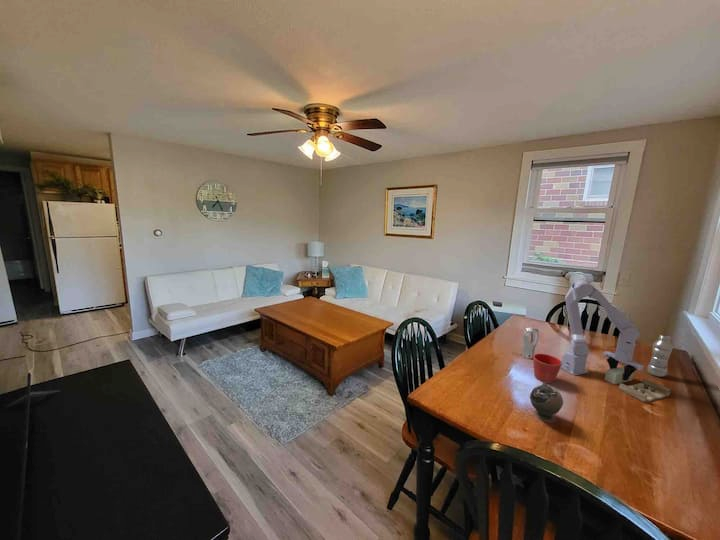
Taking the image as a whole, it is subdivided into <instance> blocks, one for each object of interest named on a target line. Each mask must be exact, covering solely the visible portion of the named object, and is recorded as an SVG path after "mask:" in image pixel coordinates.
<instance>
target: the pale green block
mask: <svg viewBox="0 0 720 540" xmlns="http://www.w3.org/2000/svg"><path fill="white" fill-rule="evenodd" d="M634 374H635V371H634V372H633V373H632V374H631V375H630V377H629V379H628V380H626V381H624V380H623V376H624V366H620V367H619V366H617V368H613V369H610V368H609V369H606V371H605V374H604V375H605V376H604V380H605V381H607V382H608V383H610V384H612V385H618V384H620V383H622V382H623V383H627V382H630V381H633V379H634ZM623 383H622V384H623Z"/></svg>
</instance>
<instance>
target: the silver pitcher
mask: <svg viewBox="0 0 720 540" xmlns="http://www.w3.org/2000/svg"><path fill="white" fill-rule="evenodd" d="M539 334H540V330H539V329H537V328H535V327H530V326H528V327H524V329H523V335H522V351H521V356H522V357H523V358H524V359H525V358H526V359H528V360H529V359H530V360H533V356H534V355H535V351H536V347H537V345H538V342H539V336H540V335H539Z"/></svg>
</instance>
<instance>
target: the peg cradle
mask: <svg viewBox="0 0 720 540" xmlns="http://www.w3.org/2000/svg"><path fill="white" fill-rule="evenodd" d="M618 390H619V391H620V392H622V393H624V394H627V395H628V396H629V397H633V398H635V399H636V400H639V401H640V402H642V403H645V404H646V403H648V402H651V401H655V400H660V399H663V398H667V397H670V394H671V388H668V387H665V386H663V385H661V384H659V383H656V382H655V381H652V380H649V379H648V378H646V377H644V378H642V381H641V382H640V383H636V384H631V385H626V384H624V383H619V387H618Z"/></svg>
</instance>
